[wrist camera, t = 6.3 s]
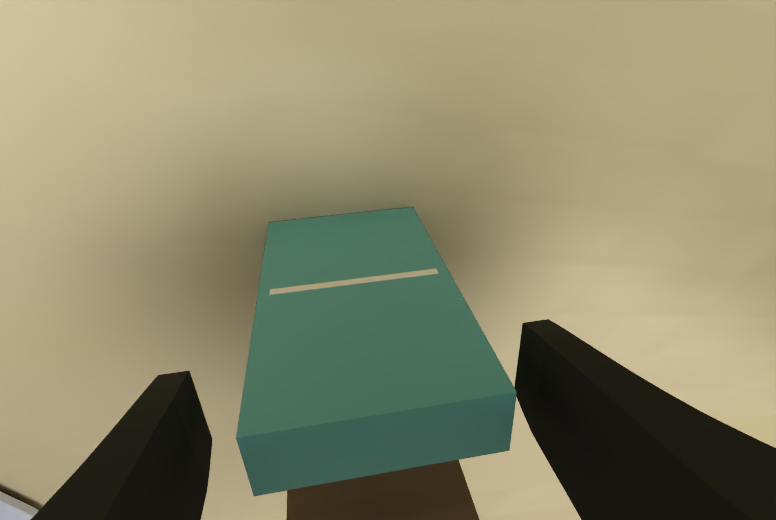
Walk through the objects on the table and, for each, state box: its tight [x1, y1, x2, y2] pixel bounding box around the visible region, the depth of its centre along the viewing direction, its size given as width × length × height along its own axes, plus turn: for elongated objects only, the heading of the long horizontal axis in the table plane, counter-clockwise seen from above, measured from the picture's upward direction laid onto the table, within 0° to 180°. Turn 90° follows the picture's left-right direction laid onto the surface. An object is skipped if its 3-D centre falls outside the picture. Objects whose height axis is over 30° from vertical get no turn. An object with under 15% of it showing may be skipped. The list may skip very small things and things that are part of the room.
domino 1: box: [236, 207, 517, 496], centre depth 12 cm, size 2×5×9 cm, turn 93°
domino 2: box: [287, 460, 479, 520], centre depth 15 cm, size 2×5×9 cm, turn 93°
